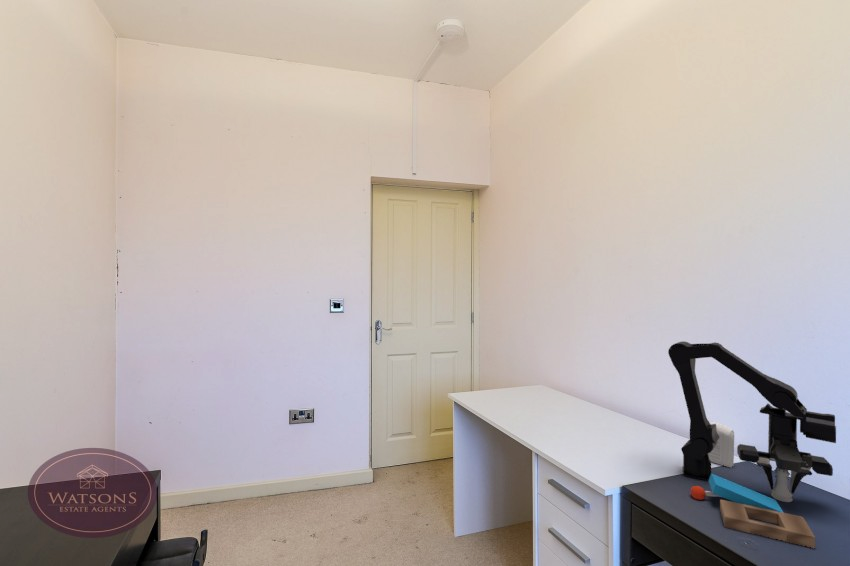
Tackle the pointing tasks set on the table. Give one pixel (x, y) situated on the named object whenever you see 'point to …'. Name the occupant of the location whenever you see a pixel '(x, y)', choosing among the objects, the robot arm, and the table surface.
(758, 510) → the walnut socket board
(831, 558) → the table surface
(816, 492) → the table surface
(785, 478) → the rook chess piece
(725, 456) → the photo printer
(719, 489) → the lever
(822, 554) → the table surface
